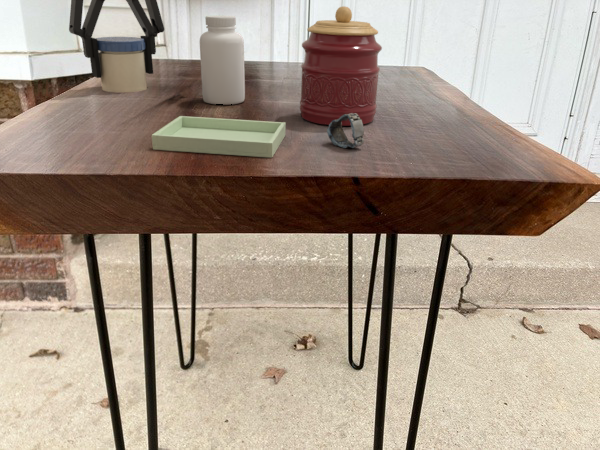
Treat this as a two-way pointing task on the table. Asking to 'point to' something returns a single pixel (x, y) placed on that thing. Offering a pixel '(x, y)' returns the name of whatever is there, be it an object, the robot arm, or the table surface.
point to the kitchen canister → (340, 70)
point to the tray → (220, 136)
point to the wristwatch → (339, 136)
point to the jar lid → (120, 44)
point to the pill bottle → (222, 62)
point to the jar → (123, 71)
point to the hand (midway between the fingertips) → (123, 74)
